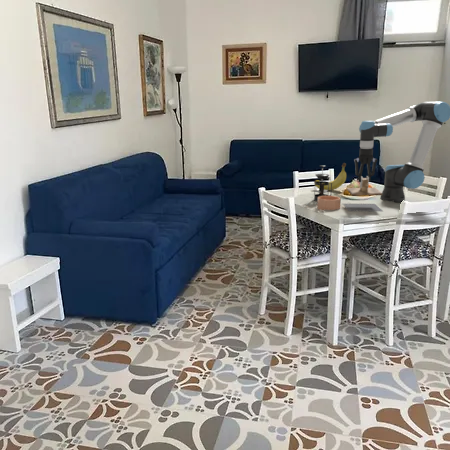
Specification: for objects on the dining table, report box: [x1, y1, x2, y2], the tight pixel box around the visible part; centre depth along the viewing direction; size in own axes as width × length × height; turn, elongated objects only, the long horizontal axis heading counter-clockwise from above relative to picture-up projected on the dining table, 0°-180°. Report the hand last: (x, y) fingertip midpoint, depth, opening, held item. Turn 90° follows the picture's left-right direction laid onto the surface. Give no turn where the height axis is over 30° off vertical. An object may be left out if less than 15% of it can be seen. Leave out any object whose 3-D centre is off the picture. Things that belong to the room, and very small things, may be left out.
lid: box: [346, 177, 382, 197], centre depth 266 cm, size 17×17×8 cm
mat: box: [342, 203, 383, 212], centre depth 270 cm, size 20×20×1 cm
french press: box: [313, 165, 333, 202], centre depth 291 cm, size 12×9×23 cm
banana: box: [313, 162, 347, 191], centre depth 323 cm, size 23×6×20 cm, turn 78°
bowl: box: [316, 195, 341, 211], centre depth 271 cm, size 13×13×6 cm
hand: (364, 187), depth 267 cm, fingers closed on lid, 3 cm apart
